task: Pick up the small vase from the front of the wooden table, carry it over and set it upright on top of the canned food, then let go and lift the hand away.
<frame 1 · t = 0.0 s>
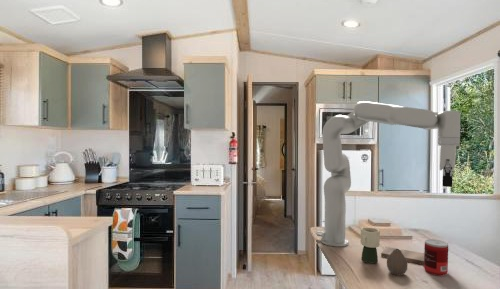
hand: (447, 185, 130), 31 cm above the table, fingers open, 9 cm apart
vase: (396, 274, 119), on the table
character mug: (369, 262, 130), on the table
canned food: (435, 272, 122), on the table
walnut board: (403, 256, 136), on the table
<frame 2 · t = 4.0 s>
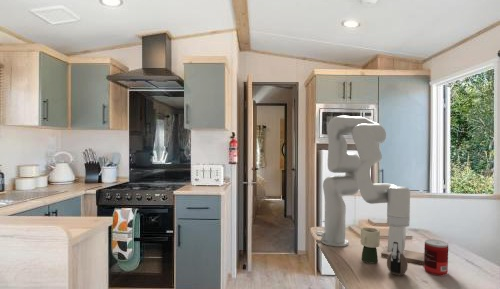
hand: (397, 268, 119), 2 cm above the table, fingers closed on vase, 7 cm apart
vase: (396, 273, 119), on the table, touching gripper
everything else where it was.
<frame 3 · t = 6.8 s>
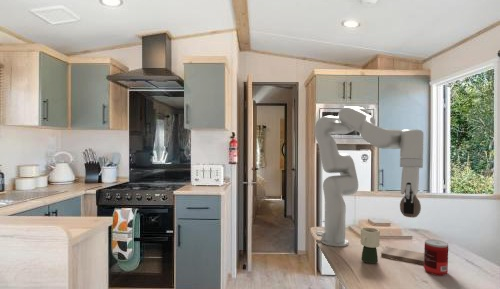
hand: (410, 211, 120), 23 cm above the table, fingers closed on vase, 6 cm apart
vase: (409, 216, 120), point 21 cm above the table, touching gripper
everything else where it was.
when the fingers open (14 cm above the table, at t = 9.6 s): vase drops 1 cm, resting on canned food.
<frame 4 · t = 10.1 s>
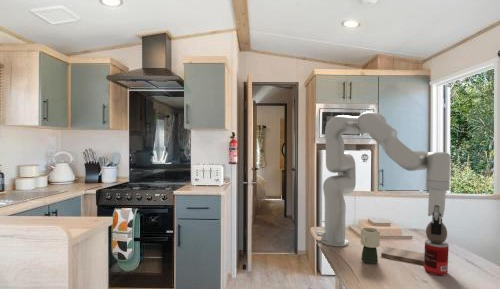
hand: (436, 231, 121), 15 cm above the table, fingers open, 9 cm apart
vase: (436, 242, 122), point 11 cm above the table, touching canned food
canned food: (435, 272, 122), on the table, touching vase
everything else where it was.
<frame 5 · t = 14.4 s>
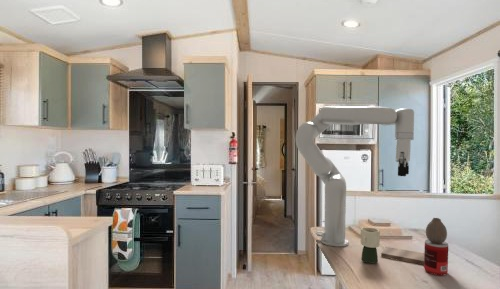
hand: (403, 175, 145), 33 cm above the table, fingers open, 9 cm apart
nothing on the table moved.
at the end: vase 0.3 cm off-centre on the canned food, point 11.0 cm above the canned food's base; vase tilted 0°; the gripper is holding nothing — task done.
